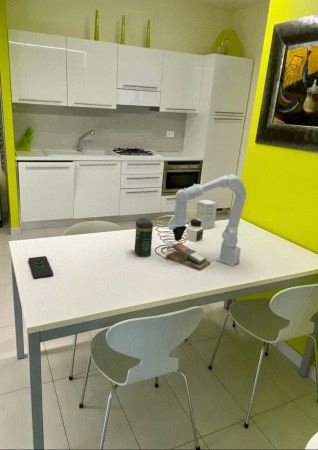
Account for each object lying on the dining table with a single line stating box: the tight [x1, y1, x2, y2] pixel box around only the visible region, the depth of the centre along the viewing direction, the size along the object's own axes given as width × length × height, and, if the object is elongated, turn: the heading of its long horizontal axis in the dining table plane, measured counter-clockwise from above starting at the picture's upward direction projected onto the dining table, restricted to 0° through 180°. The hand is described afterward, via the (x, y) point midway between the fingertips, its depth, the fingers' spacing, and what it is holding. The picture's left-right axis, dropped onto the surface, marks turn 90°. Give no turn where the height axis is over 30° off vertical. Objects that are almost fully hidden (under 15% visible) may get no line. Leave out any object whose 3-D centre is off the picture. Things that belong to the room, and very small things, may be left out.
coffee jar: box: [134, 217, 154, 258], centre depth 174 cm, size 10×8×19 cm
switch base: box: [165, 249, 211, 271], centre depth 171 cm, size 20×10×5 cm, turn 53°
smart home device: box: [28, 255, 54, 280], centre depth 154 cm, size 8×2×20 cm
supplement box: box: [195, 199, 218, 230], centre depth 222 cm, size 10×9×17 cm
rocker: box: [171, 242, 207, 264], centre depth 170 cm, size 17×6×2 cm, turn 53°
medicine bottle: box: [186, 218, 204, 243], centre depth 200 cm, size 7×7×12 cm
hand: (177, 240), depth 173 cm, fingers closed
